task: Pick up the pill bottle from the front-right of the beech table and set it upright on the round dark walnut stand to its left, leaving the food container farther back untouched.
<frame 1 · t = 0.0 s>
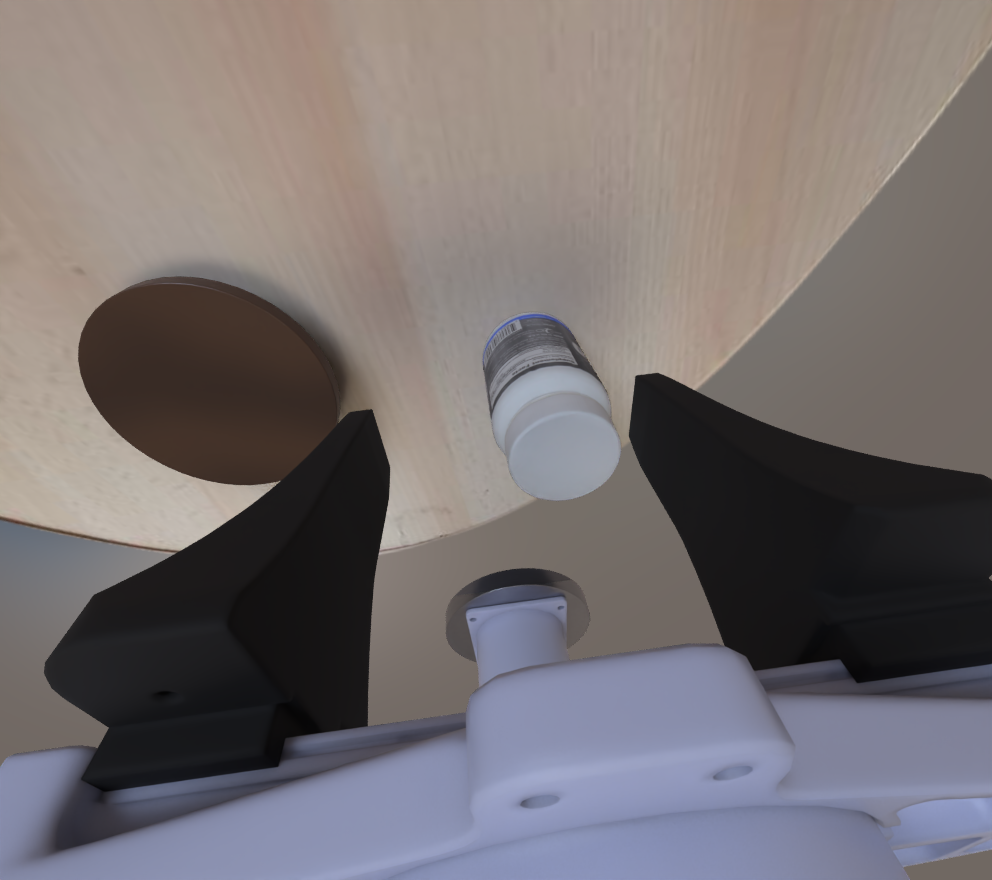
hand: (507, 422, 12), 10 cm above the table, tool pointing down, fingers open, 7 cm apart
pill bottle: (528, 353, 22), on the table
stand: (238, 372, 21), on the table
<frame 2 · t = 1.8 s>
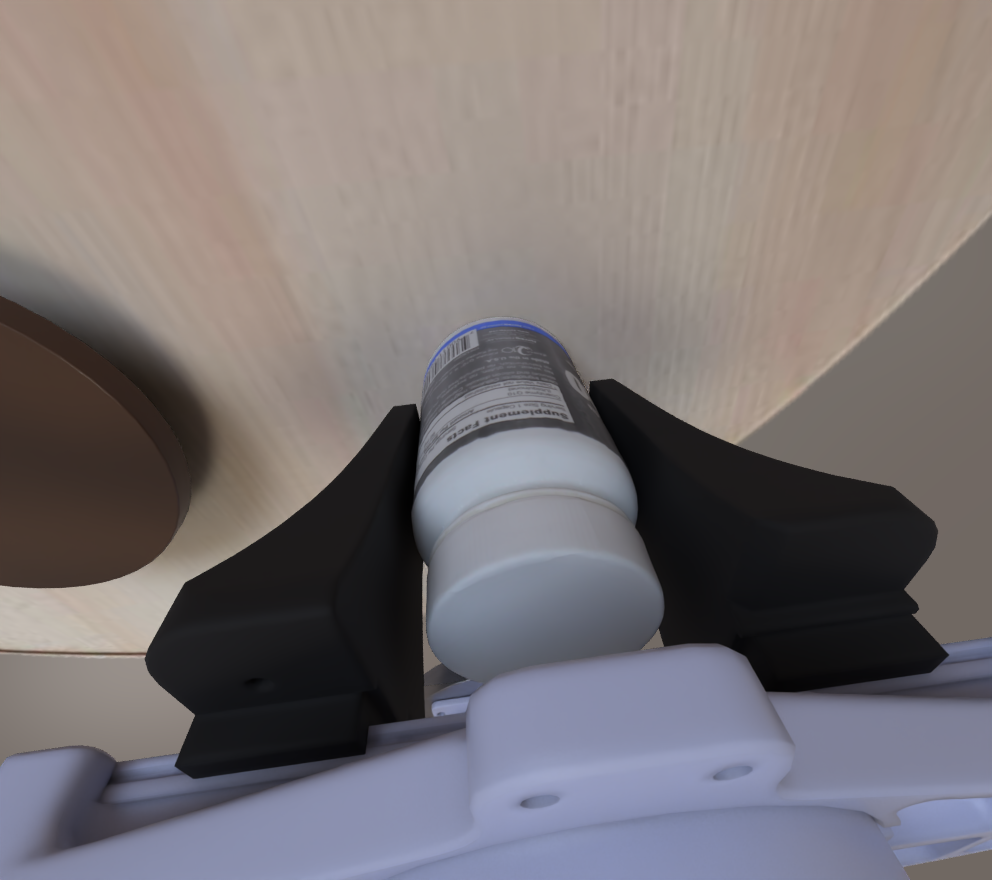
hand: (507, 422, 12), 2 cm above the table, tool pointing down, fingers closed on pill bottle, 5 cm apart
pill bottle: (497, 381, 14), on the table, touching gripper
stand: (28, 414, 13), on the table
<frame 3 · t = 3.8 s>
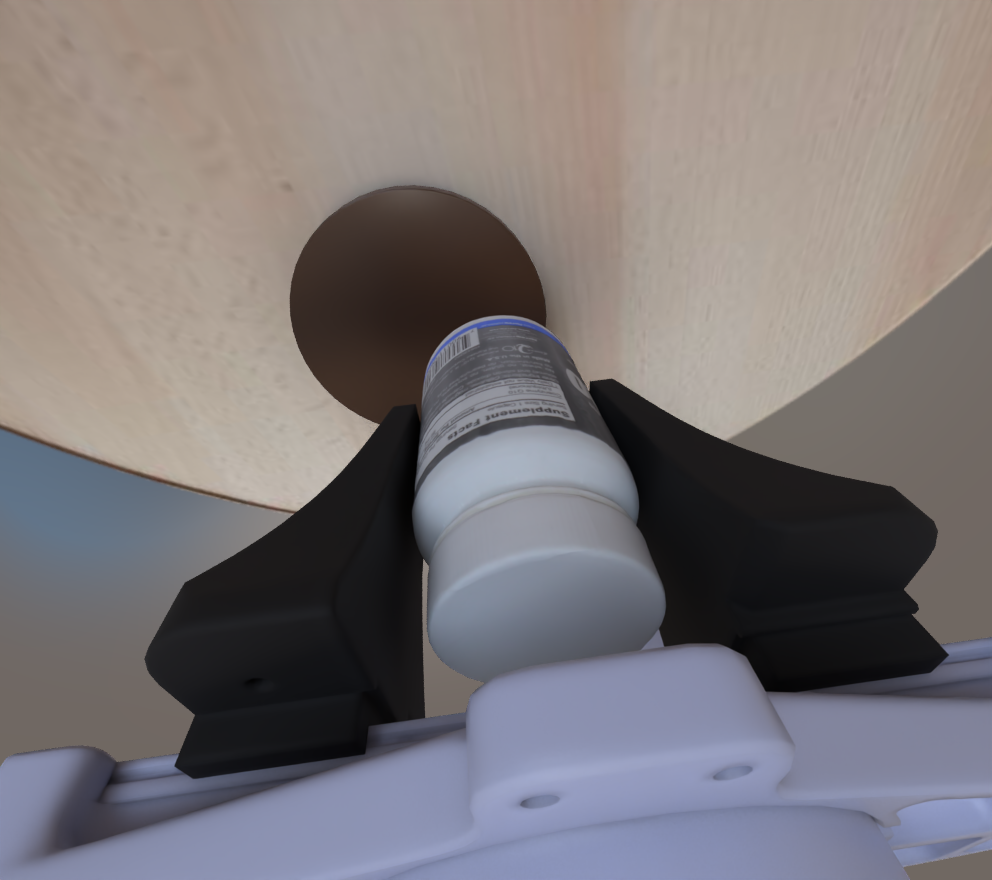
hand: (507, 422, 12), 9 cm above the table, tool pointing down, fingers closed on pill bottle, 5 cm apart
pill bottle: (498, 380, 14), point 7 cm above the table, touching gripper
stand: (424, 309, 20), on the table
when the fingers open (5 cm above the table, at t = 5.7 s): pill bottle stays where it is, resting on stand.
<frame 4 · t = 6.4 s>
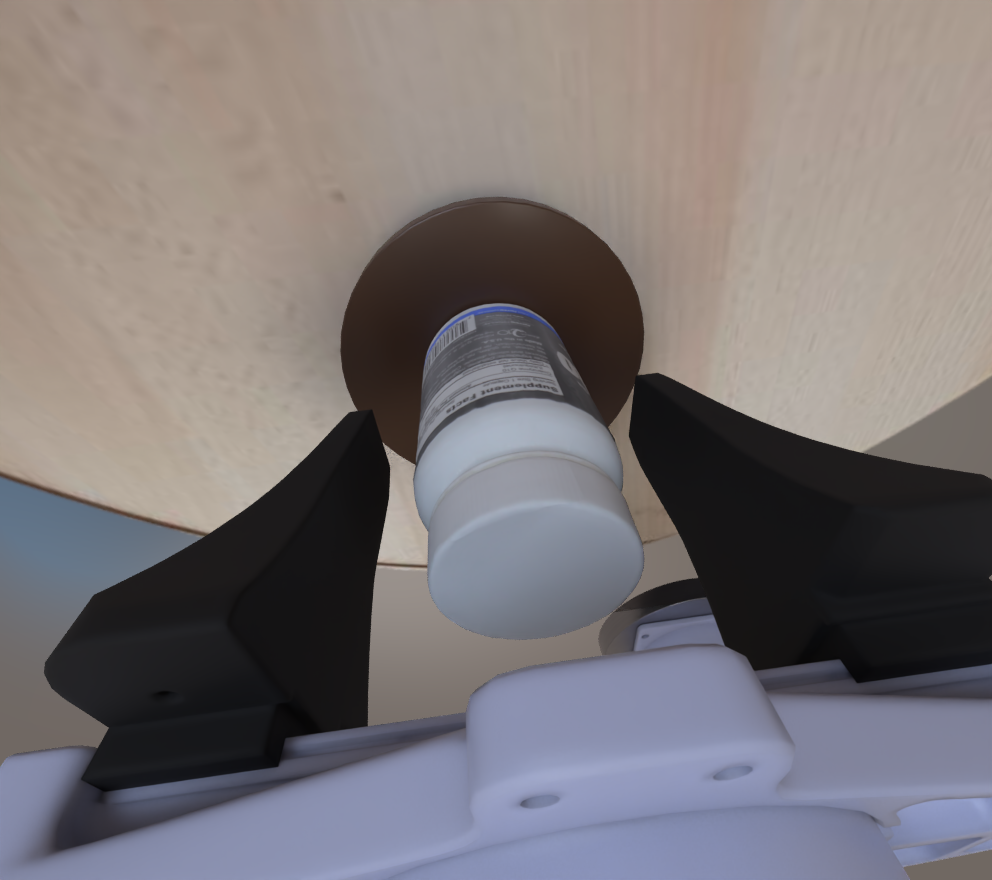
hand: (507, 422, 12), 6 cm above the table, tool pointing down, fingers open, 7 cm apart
pill bottle: (494, 366, 15), point 2 cm above the table, touching stand
stand: (490, 338, 17), on the table
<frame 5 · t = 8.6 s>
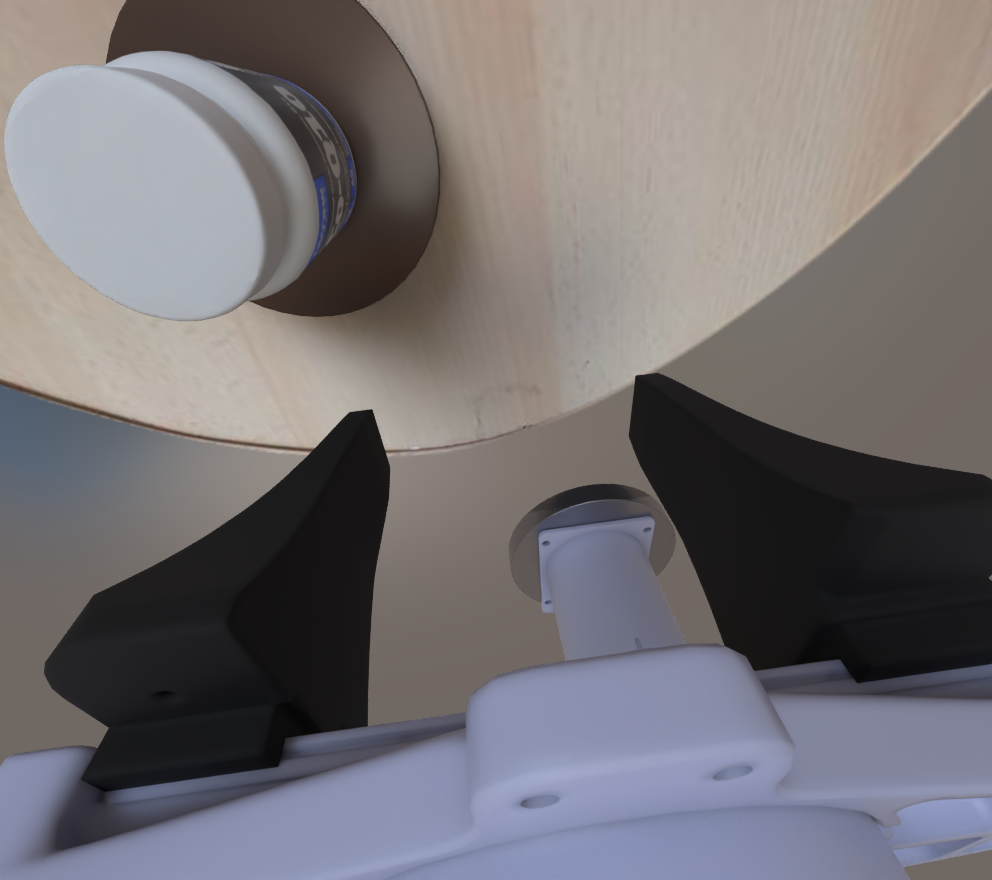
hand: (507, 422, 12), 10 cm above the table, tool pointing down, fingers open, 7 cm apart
pill bottle: (286, 167, 15), point 2 cm above the table, touching stand
stand: (305, 162, 16), on the table
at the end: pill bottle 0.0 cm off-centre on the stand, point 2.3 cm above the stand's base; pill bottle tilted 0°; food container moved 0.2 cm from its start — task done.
